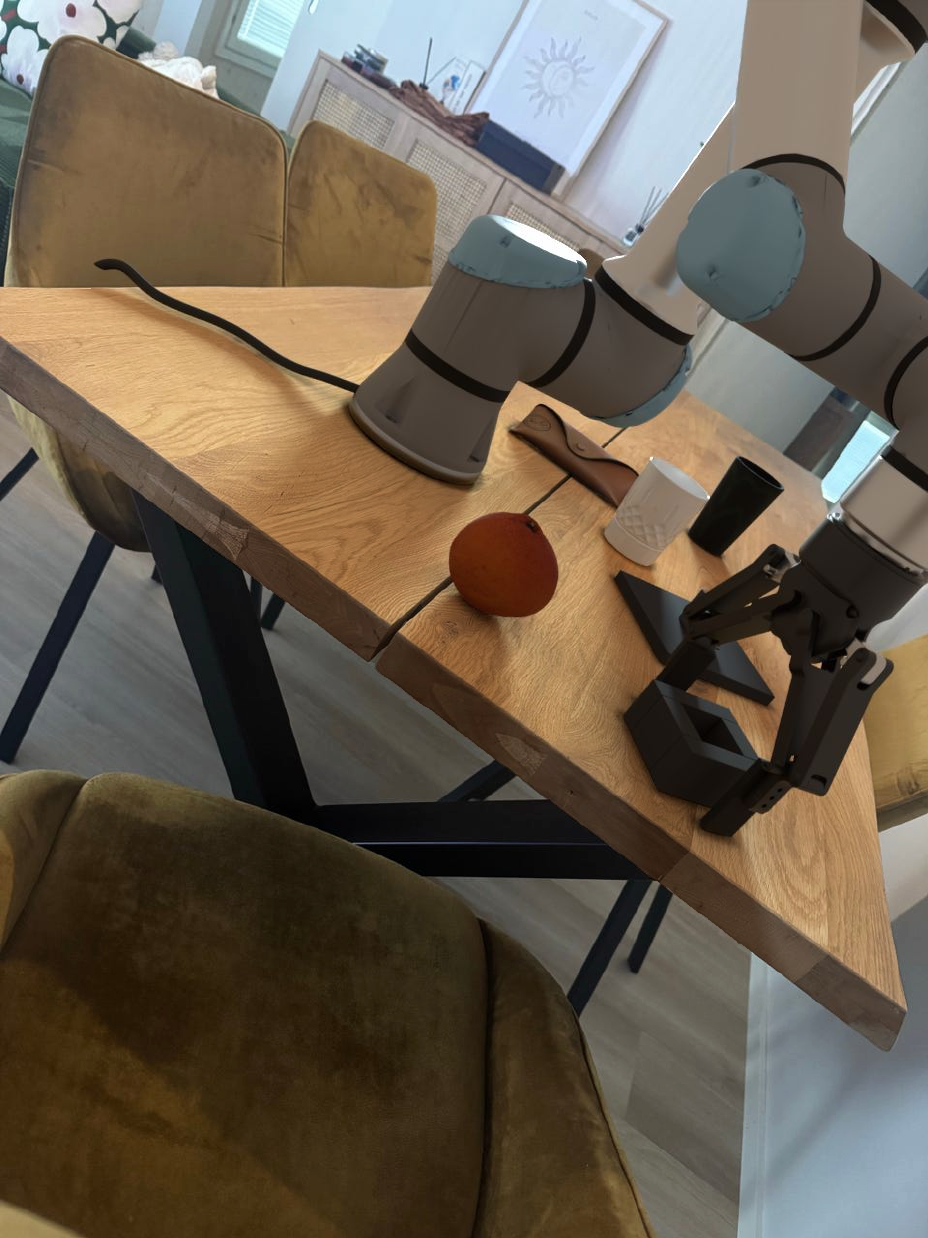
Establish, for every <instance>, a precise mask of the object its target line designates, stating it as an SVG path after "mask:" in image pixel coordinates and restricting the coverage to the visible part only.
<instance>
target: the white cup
mask: <svg viewBox="0 0 928 1238" xmlns="http://www.w3.org/2000/svg"><path fill="white" fill-rule="evenodd" d="M709 499H710V495H709V493H708V492H707V491H706V490H705V488H703V486H701V484H699V482H697V481H696V480H695V479H694V478H693V477H691V476H690V475H689V474H688V473H686V472H685V471H683V470H682V469H680V468H679V467H678V466H675V465H674V464H673V463H671V462H669V461H666V460H665V459H662V458H660V457H657V456H651V457H650V458H649V459H648V461H647V463H646V464H645V466H644V467H643V468H642V470H641V472H640V473H639V476H638V478H637V479H636V481H635V482H634V484H633V485H632V487H631V488H630V490H629V491H628V493H627V495H626V496H625V498H624V499H623V501H622V502H621V504H620V506H619V507H618V506H617V508H616V510H615V513H614V515H613V516H612V518H610V521H609V523H607V525H606V527H605V528H604V531H603V535H604V537H605V539H606V540H607V542H608V543H609V544H610V545H611V546H612V547H613V548H614V549H615V550H616V551H617V552H618V553H620V555H623V556H624V557H625V558H627V559H629V560H630V561H632V562H634V563H636V564H638V565H641V566H644V567H649V566H653V565H654V563H655V562H657V560H658V559H659V557H660V556H661V555H662V554H663V553H664V551H665V550H666V549H668V548H669V546H671V545H672V543H673V542H674V541H675V540H676V538H678V537H679V536H680V534H681V533H682V532H683V531H684V530H685V529H686V527H687V526H688V525H689V524H690V523H691V522H692V521H693V520H694V518H695V517H696V516H697V515H698V513H700V512H701V510H702V509H703V507H704V506H705V504H706V503H707V502H708V500H709Z"/></svg>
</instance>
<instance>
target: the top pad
mask: <svg viewBox="0 0 928 1238" xmlns="http://www.w3.org/2000/svg"><path fill="white" fill-rule="evenodd" d="M622 717H623V719H624V722H625V723H626V726H627V728H628V730H629V732H630V733H631V736H632V738H633V740H634V742H635V744H636V746H637V748H638V751H639V753H640V755H641V757H642V759H643V761H644V763H645V765H646V768H647V769H648V772H649V774H650V776H651V779H652V780H653V783H654V784H655V787H656V788H657V790H658V791H659V792H661V793H664V794H667V795H670V796H674V797H677V798H679V799H683V800H686V801H689V802H692V803H695V804H698V805H700V806H704V807H708V808H710V809H711V808H712V807H713V805H714V804H715V803H716V802H717V801H718V800H719V799H720V798H721V797H722V796H723V795H724V794H725V793H726V792H727V791H728V790H729V789H730V788H731V787H732V786H733V785H734V783H735V782H736V781H737V780H738V779H739V778H740V777H741V776H742V775H743V774H744V773H745V772H746V771H747V770H748V769H749V768H750V767H751V766H752V765H753V764H754V763H755V761H756V760H757V759H758V758H759V755H758V753H757V752H756V750H755V749H754V747H753V745H752V743H751V742H750V740H749V739H748V737H747V736H746V734H745V732H744V731H743V729H742V728H741V725H740V723H739V722H738V721H737V719H736V717H735V716H734V714H733V713H732V711H731V709H730V708H729V707H726V706H723V705H721V704H718V703H716V702H714V701H711V700H708V699H707V698H704V697H702V696H701V697H700V696H698V695H695V694H693V693H691V692H688V691H683V690H681V689H678V688H675V687H673V686H670V685H668V684H665V683H663V682H660V681H658V680H655V678H652V680H651V681H650V682H649V683H648V684H647V686H646V687H645V688H644V689H643V691H642V692H641V693H640V694H639V695H638V697H636V699H635V700H634V701H633V702H632V703H631V704H630V706H629V707H628V708H627V709H626V711H625V712H624V713H623V714H622Z"/></svg>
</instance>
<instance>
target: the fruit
mask: <svg viewBox="0 0 928 1238" xmlns="http://www.w3.org/2000/svg"><path fill="white" fill-rule="evenodd" d="M448 570H449V571H448V572H449V575H450V578H451V581H452V584H453V586H454V587H455V589H456V591H457V592H458V593H459V594H460V596H461V597H462V599H463V600H464V601H466V602H467V603H468V604H469V605H470V606H472V607H473V608H475V609H477V610H478V611H480V612H482V613H485V614H487V615H491V616H497V617H502V618H526V617H530V616H532V615H536V614H538V613H539V612H541V611H542V610H544V609H545V608H546V607H547V606H548V605H549V604H550V602H551V600H552V598H553V597H554V595H555V592H556V591H557V590H556V589H557V586H558V582H559V575H560V574H559V573H560V572H559V563H558V560H557V556H556V553H555V550H554V548H553V546H552V544H551V542H550V540H549V539H548V538H547V536H546V535H545V533H544V531H543V529H542V527H541V526H540V524H539V522H537V521H536V519H534V518H533V517H531V516H530V515H529V514H526V513H522V512H517V513H516V512H510V511H495V512H489V513H487V514H484V515H481V516H479V517H477V518H475V519H473V520H472V521H471V522H469V523H467V524H466V525H465V526H464V527H463V528H462V529H461V530H460V531H459V532H458V533H457V535H456V536H455V537H454V539H453V540H452V542H451V544H450V547H449V552H448Z"/></svg>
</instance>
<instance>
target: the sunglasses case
mask: <svg viewBox="0 0 928 1238" xmlns="http://www.w3.org/2000/svg"><path fill="white" fill-rule="evenodd" d="M509 430H510V431H511V432H513V433H514V434H516V435H517V436H519V437H520V438H521V439H523V440H525V441H526V442H527V443H529V444H530V445H532V447H534V448H535V449H536V450H537V451H538V452H540V453H541V454H542V455H544V456H545V457H547V458H548V459H549V460H550V461H552V462H554V463H555V464H556V465H557V466H558V467H560V468H561V469H562V470H564V472H566V473H567V474H568V475H570V476H571V477H572V478H574V479H575V480H576V481H578V482H579V483H580V484H581V485H583V486H585V487H586V488H588V490H590V491H591V492H593V493H594V494H596V495H598V496H600V497H601V498H603V499H605V500H607V501H608V502H610V503H612V504H614V505H615V506H616V507H617V508H618V507H619V506H620V504H621V502H622V501H623V499H624V498H625V496H626V495H627V493H628V491H629V490H630V488H631V487H632V485H633V484H634V482H635V481H636V479H637V478H638V476H639V475H640V473H639V472H638V471H637V470H635V468H634V467H632V466H631V465H629V464H627V463H626V462H623V461H622V460H620V459H618V458H616V457H615V456H614V455H613V454H611V453H610V452H609V451H607V450H606V449H604V447H602V446H601V445H600V444H598V443H597V442H595V441H594V440H593V439H592V438H590V437H589V436H587V435H586V434H585V433H583V432H582V431H580V430H579V429H578V428H576V427H575V426H573V425H572V424H570V423H569V422H568V421H566V420H565V419H563V418H562V416H561V415H560V414H559V413H558V412H556V411H555V409H553V408H552V407H551V406H549V405H547V404H545V403H538V404H536V405H535V406H534V407H533V408H532V409H531V410H530V412H529V413H528V414H527V415H526V416H525V417H524V418H523V419H521V421H520V422H519V423H518V424H517V425H514V426H512V427H509Z"/></svg>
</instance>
